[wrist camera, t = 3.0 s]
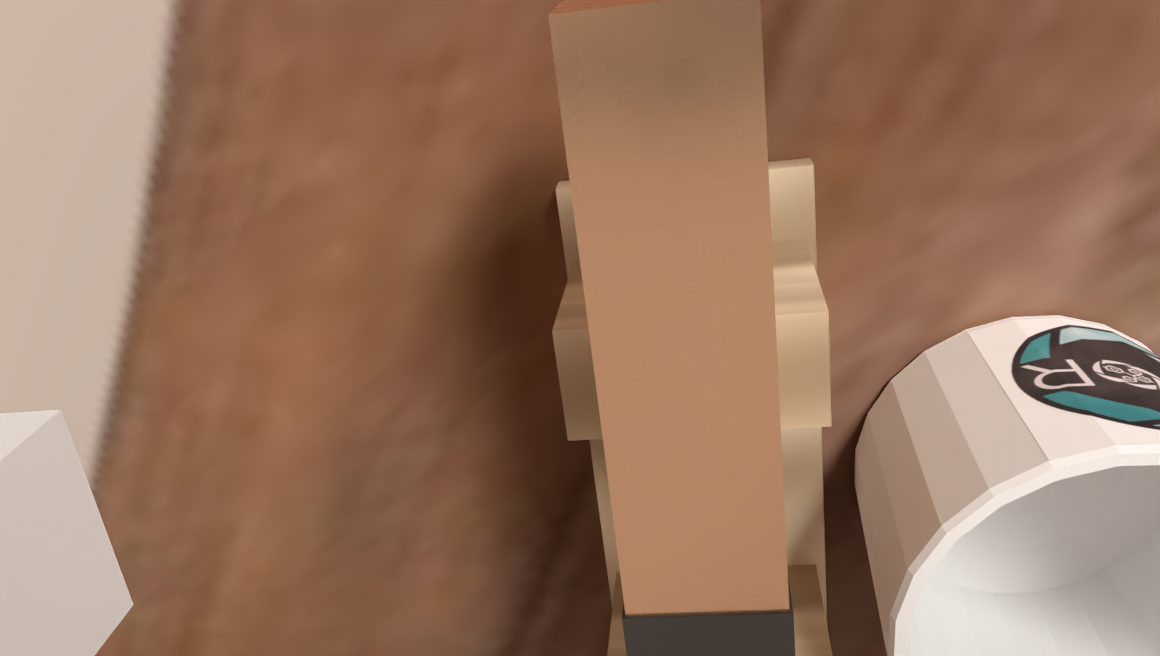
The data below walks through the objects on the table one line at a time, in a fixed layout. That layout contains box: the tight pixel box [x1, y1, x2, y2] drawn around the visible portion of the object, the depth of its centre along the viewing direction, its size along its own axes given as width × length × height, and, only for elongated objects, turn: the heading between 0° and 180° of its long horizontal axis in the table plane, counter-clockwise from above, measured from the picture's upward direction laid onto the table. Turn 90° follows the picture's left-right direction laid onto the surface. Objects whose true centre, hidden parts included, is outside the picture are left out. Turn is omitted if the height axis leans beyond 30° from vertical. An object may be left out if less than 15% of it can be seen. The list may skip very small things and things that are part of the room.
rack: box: [552, 158, 833, 656], centre depth 28 cm, size 17×7×6 cm, turn 7°
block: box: [548, 0, 795, 656], centre depth 23 cm, size 24×4×4 cm, turn 7°
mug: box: [854, 315, 1160, 656], centre depth 27 cm, size 13×10×8 cm
